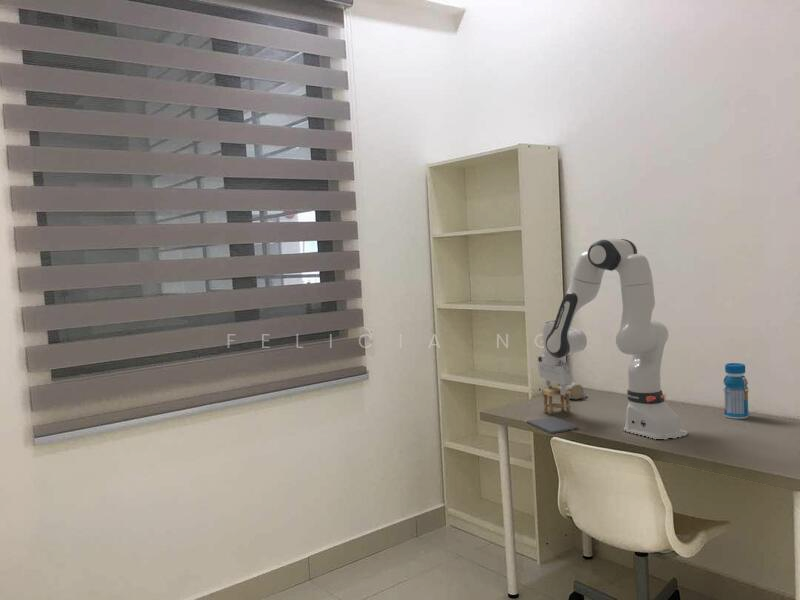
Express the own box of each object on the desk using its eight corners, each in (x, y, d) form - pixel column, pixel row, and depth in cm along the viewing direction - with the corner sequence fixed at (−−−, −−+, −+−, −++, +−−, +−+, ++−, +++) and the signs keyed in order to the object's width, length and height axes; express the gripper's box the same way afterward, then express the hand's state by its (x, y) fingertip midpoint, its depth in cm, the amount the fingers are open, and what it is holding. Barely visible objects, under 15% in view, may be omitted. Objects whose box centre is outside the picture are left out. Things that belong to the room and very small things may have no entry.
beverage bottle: (731, 420, 239) (729, 367, 238) (719, 414, 248) (718, 363, 246) (753, 418, 239) (752, 365, 238) (741, 413, 248) (739, 361, 246)
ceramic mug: (571, 401, 284) (570, 384, 283) (560, 397, 291) (559, 381, 291) (591, 398, 288) (590, 381, 287) (579, 395, 295) (579, 378, 295)
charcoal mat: (579, 429, 240) (579, 427, 240) (551, 433, 236) (550, 431, 236) (553, 418, 257) (553, 416, 257) (526, 422, 253) (526, 420, 253)
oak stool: (563, 409, 270) (562, 386, 269) (571, 412, 264) (570, 388, 263) (542, 412, 267) (541, 389, 266) (550, 416, 261) (549, 391, 260)
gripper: (575, 362, 255) (576, 396, 256) (548, 355, 274) (549, 387, 275) (561, 363, 253) (563, 398, 254) (535, 356, 272) (536, 388, 273)
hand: (555, 392), depth 265 cm, fingers open, 8 cm apart
